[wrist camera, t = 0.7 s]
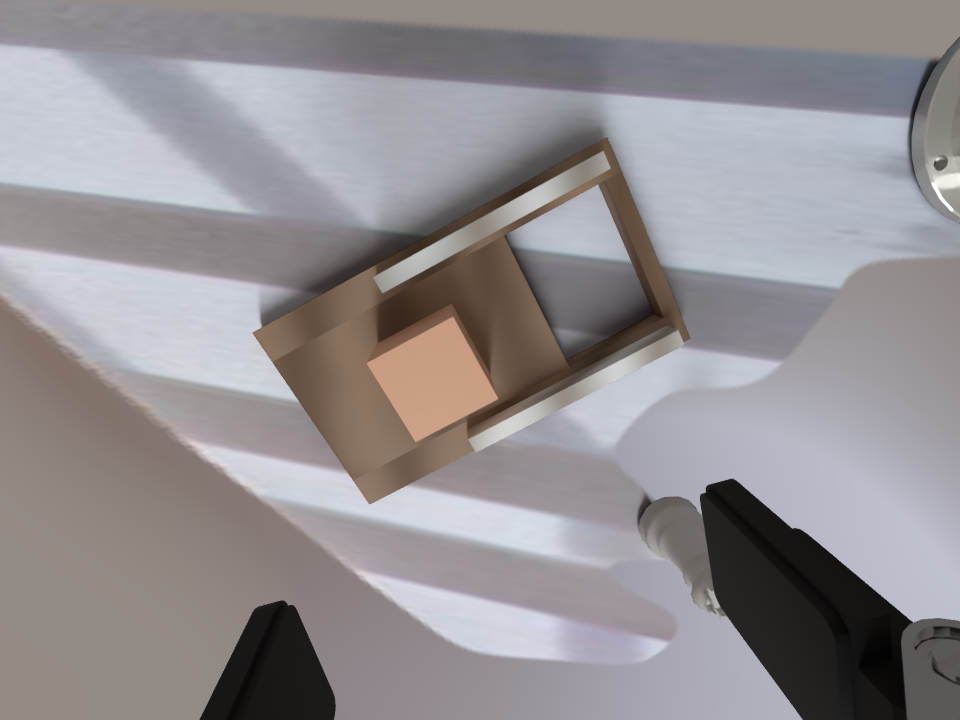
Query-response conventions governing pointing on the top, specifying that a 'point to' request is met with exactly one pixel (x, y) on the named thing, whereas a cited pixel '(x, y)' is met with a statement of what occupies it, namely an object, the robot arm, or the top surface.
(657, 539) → the rook chess piece
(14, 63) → the top surface
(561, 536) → the top surface
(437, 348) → the block
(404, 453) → the tan rectangular frame
